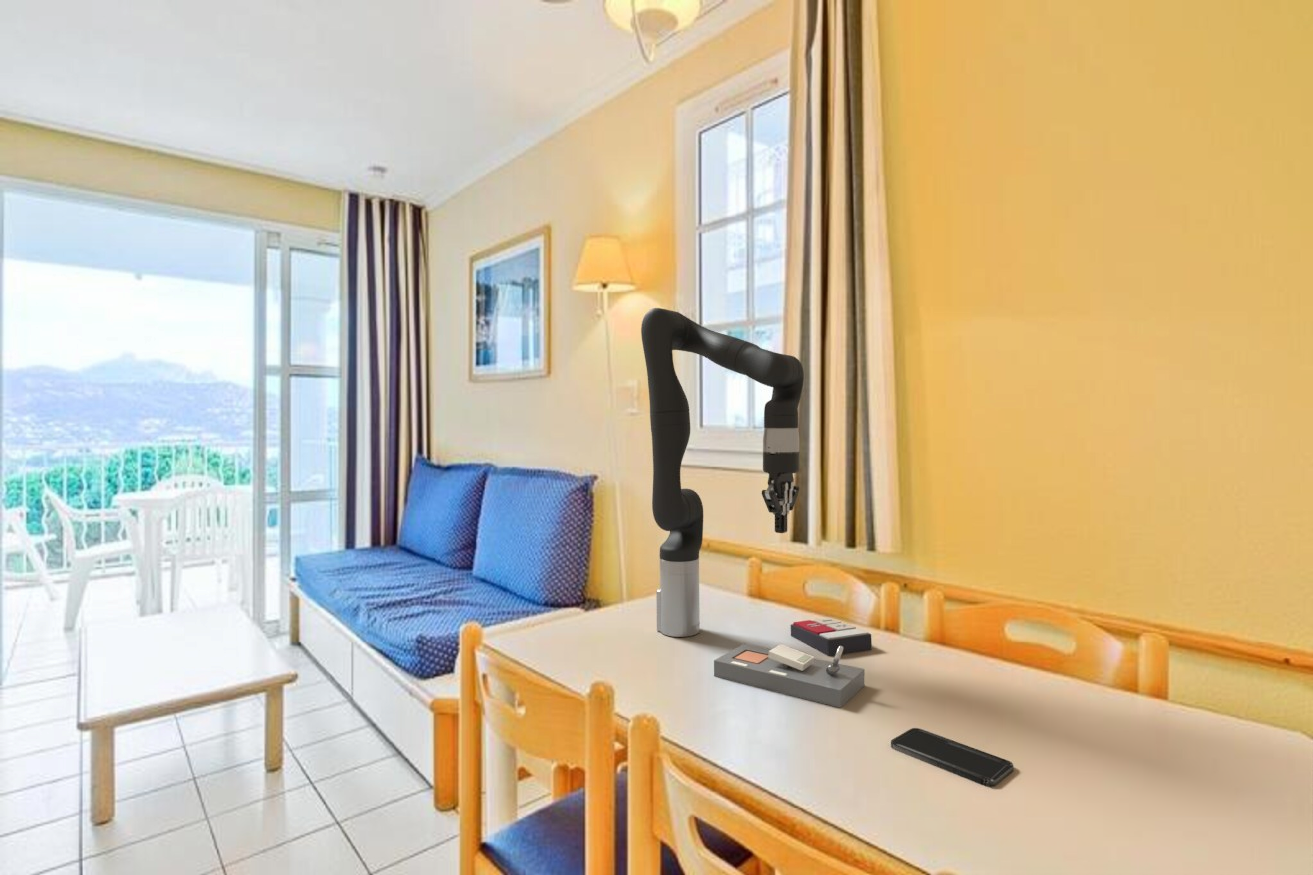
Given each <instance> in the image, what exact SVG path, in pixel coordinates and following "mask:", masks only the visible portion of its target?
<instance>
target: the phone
mask: <svg viewBox="0 0 1313 875" xmlns="http://www.w3.org/2000/svg"><path fill="white" fill-rule="evenodd" d="M890 747H891V749H892V750H893V751H897V752H899V753H901V754H903V755H906V756H909V757H911V758H913V759H916V760H919V761H921V762H924V763H925V764H929V765H931V766H933V767H937V768H938V769H941V770H944V771H946V772H948V773H951V774H953V775H956V776H959V777H961V778H964V779H967V780H969V781H971V782H974V783H976V784H978V785H981V786H984V787H987V788H988V787H989V788H993V787H996V786H997V785H998V784H1000V783H1001V782H1002V781H1004V779H1005V778H1007V777H1008V776H1009V775H1010V774H1012V773H1013V772H1014V763H1013V762H1012V761H1010V760H1008V759H1005V758H1002V757H1000V756H996V755H994V754H991V753H988V752H986V751H983V750H981V749H977V748H975V747H971V746H969V745H967V744H964V743H961V742H958V741H956V740H952V739H950V738H947V737H944V736H941V735H939V734H936V733H934V732H931V731H928V730H925V729H922V728H918V727H912V728H909V729H908V730H905V732H903V733H901V734H900V735H898V736H896V737H894V738H893V739H891V740H890Z"/></svg>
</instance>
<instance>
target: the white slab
mask: <svg viewBox="0 0 1313 875" xmlns="http://www.w3.org/2000/svg"><path fill="white" fill-rule="evenodd" d="M771 649H772V650H770V651H769V653H768V658H771V659H773V660H776V661H778V662H781V663H784V664H786V665H789V666H791V667H794V668H796V669H799V670H801V671H803V670H804V669H806V668H807V667H809V666H810V665H811V664H813V663H814V658H815V656H813V655H810V654H808V653H806V652H803V651H800V650H797V649H795V648H792V647H789V646H787V645H785V644H782V643H780V644H778V645H777V646H776V647H773V648H771Z"/></svg>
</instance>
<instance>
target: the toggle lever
mask: <svg viewBox="0 0 1313 875" xmlns="http://www.w3.org/2000/svg"><path fill="white" fill-rule="evenodd" d="M842 652H843V646H839V647H838V650H837V652H836V655H835V656H834V659H833V661H832V662H833V663H832V664H831V665H830V666H829V667H827V669H826V672H827V674H828V675H830V676H833V675H834V674H835V673H837V672H838V671H839V670H840V666H839V665H838V664H839V662H840V659H841V657H842V655H841V654H842Z"/></svg>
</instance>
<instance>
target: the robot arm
mask: <svg viewBox="0 0 1313 875" xmlns="http://www.w3.org/2000/svg"><path fill="white" fill-rule="evenodd" d="M640 334H641V343H642V349H643V354H644V360H645V366H646V376H647V388H648V394H649V395H648V397H649V398H648V399H649V417H650V418H649V420H650V431H651V433H650V434H651V445H652V470H653V472H652V476H653V477H652V498H651V499H652V501H651V502H652V503H651V506H652V516H653V519H654V522H655V523H656V525H657V526H658V527H659V528H660V529H661V530H663V531H666V532H669V535H668V537H667V538H666V540H665V541H664V542H663V543H662V544H661V545H660V546H659V547H660V548H659V589H657V590H656V597H655V598H656V631H657V632H660V633H661V634H662V635H664V636H669V637H674V638H675V637H677V638H679V637H680V638H685V637H691V636H695V635H697V634H699V633H700V624H701V622H700V551H701V548H702V545H703V536H704V535H703V534H704V533H703V532H704V505H703V502H702V499H701V497H700V495H699V494H698V492H696V491H695V490H694V489H690V488H682V486H681V485H682V484H681V482H682V481H681V469H682V468H681V467H682V462H683V458H684V456H685V453H686V450H687V447H688V444H689V440H690V436H691V419H690V418H691V417H690V405H689V401H688V400H689V399H688V398H687V395H686V393H685V391H684V389H683V386H682V384H681V383H680V380H679V378H678V376H677V373H676V370H675V366H674V358H673V357H674V356H673V351H681V352H687V353H688V352H689V353H693V354H697V355H699V356H701V357H704V358H706V359H708V360H709V361H711V362H712V363H714V364H716V365H718V366H720V367H722V368H724V369H727V370H729V371H732V372H735V373H738V374H741V375H744V376H747V377H748V378H750V379H752V380H753V381H755V382H758V383H759V384H761V385H764V386H767V387H770V388H772V395H771V399H769V400H768V401H767V402H766V403H765V405H764V408H763V410H764V411H763V413H764V414H763V435H762V436H763V438H762V471H763V473H766V474H768V479H767V486H768V487H767V488H766V489H762V491H761V496H762V499H763V500H764V503H765V506H766V508H767V511H768V512H769V513H772V515H773V516H774V532H775V533H777V534H785V533H787V532H788V515H790V511H793V509H794V507H795V504H796V500H797V498H798V495H799V492H800V486H798V485H795V484H794V482H795V478H794V474H797V473H799V471H800V434H799V404H800V401H801V399H802V398H801V396H802V391H803V387H804V379H805V378H804V368H803V365H802V363H801V361H800V360H799V359H798V358H797V357H795V356H794V355H789V354H783V353H779V352H775V351H771V350H768V349H765V348H762V347H760V346H759V345H757V344H755V343H752V342H749V341H747V340H744V339H741V338H739V337H734V336H733V335H728V334H726V333H725V334H724V333H722V332H719V331H718V332H717V331H714V330H712V329H708V328H707V327H704V326H702V325H701V324H699V323H697V322H695V321H694V320H691V318H689V317H687V316H686V315H684V314H682V313H681V312H679V311H675V310H670V309H666V308H659V307H654V308H651V309H649V310H648V311H647V312H646V313H645V315H644V317H643V319H642V321H641V328H640Z"/></svg>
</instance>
